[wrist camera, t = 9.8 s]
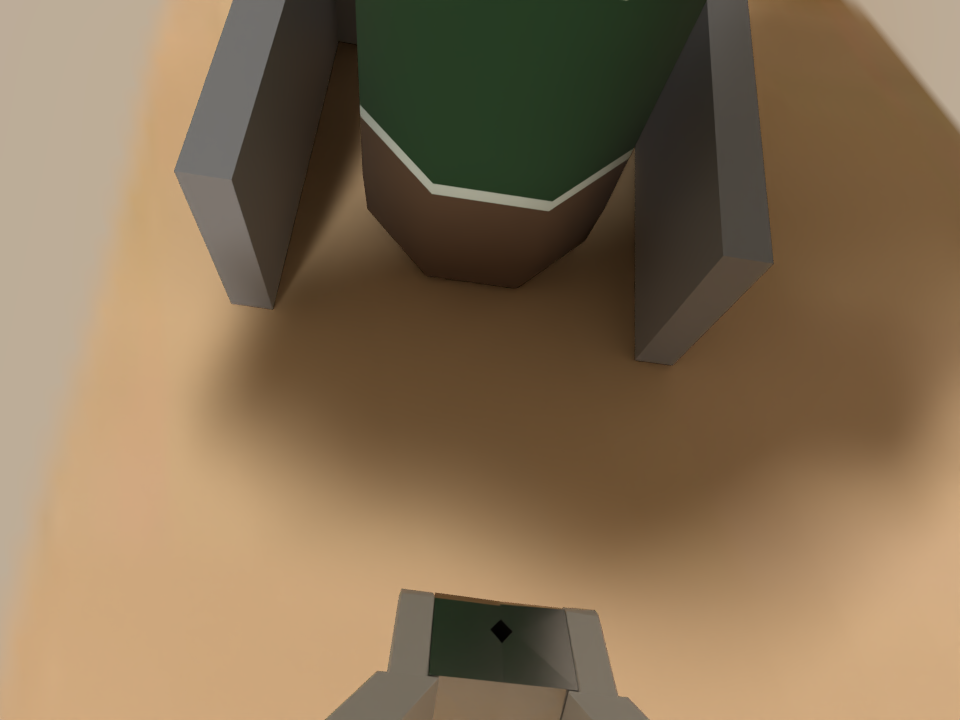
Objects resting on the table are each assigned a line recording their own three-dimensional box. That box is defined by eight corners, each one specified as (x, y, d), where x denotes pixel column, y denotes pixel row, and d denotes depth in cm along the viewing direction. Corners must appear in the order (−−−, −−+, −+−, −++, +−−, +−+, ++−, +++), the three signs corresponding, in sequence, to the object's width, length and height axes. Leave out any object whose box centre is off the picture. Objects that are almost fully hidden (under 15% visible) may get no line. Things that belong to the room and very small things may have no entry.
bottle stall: (665, 73, 26) (739, -81, 21) (672, 365, 21) (773, 263, 16) (311, 11, 25) (291, -169, 20) (231, 303, 20) (174, 170, 15)
